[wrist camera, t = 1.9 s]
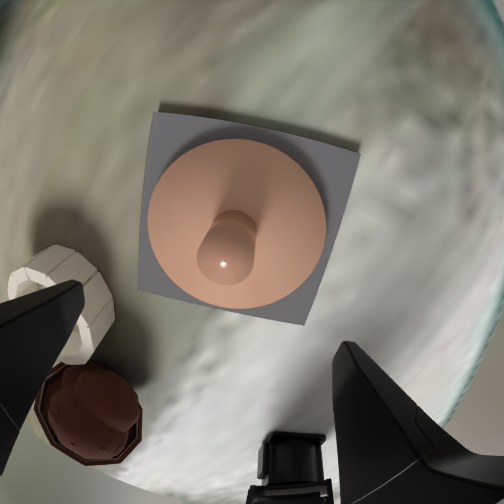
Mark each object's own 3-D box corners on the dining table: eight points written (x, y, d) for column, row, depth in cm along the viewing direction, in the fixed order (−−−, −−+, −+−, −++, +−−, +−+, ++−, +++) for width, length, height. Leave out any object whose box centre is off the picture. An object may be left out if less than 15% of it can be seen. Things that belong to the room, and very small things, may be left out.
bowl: (111, 259, 19) (83, 287, 15) (118, 347, 23) (100, 378, 19) (29, 236, 19) (-1, 256, 15) (44, 318, 22) (23, 342, 19)
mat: (357, 153, 15) (360, 154, 15) (303, 320, 20) (304, 325, 20) (157, 111, 15) (153, 111, 14) (141, 285, 20) (138, 289, 19)
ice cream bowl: (61, 369, 28) (72, 310, 20) (134, 416, 30) (179, 381, 23) (24, 432, 19) (6, 403, 11) (107, 483, 21) (141, 487, 14)
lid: (343, 162, 15) (369, 175, 11) (297, 314, 19) (302, 359, 15) (162, 126, 15) (128, 128, 11) (149, 283, 19) (123, 321, 15)
